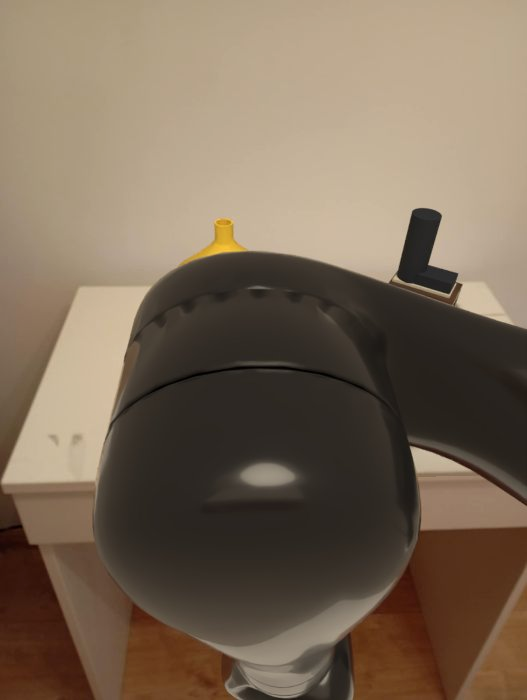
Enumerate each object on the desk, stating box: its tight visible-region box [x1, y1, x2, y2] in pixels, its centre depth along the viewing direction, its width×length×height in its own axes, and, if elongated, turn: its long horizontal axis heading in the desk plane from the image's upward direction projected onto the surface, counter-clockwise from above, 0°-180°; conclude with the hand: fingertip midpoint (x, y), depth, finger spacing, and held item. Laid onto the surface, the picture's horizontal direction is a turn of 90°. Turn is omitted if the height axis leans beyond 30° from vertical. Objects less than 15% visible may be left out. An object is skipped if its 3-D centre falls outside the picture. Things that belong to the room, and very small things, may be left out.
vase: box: [177, 217, 250, 267], centre depth 79 cm, size 18×18×19 cm
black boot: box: [392, 207, 460, 298], centre depth 83 cm, size 11×5×13 cm, turn 59°
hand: (357, 389), depth 61 cm, fingers open, 8 cm apart
